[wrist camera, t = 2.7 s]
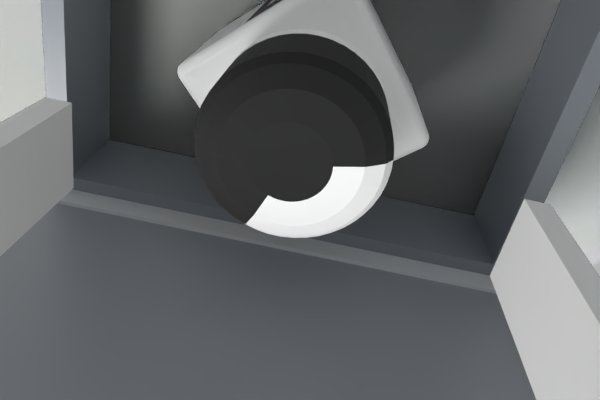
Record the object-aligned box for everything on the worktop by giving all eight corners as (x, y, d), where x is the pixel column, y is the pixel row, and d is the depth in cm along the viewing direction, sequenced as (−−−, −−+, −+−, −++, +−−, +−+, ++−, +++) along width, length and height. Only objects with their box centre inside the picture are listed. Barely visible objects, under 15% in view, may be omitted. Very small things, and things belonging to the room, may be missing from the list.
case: (90, -169, 24) (-429, -329, 8) (629, -53, 24) (1156, 12, 8) (92, 164, 32) (-161, 409, 16) (495, 248, 32) (630, 568, 16)
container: (214, 31, 28) (117, 115, 16) (346, -50, 25) (341, -19, 14) (289, 152, 30) (252, 295, 19) (414, 89, 28) (456, 210, 17)
